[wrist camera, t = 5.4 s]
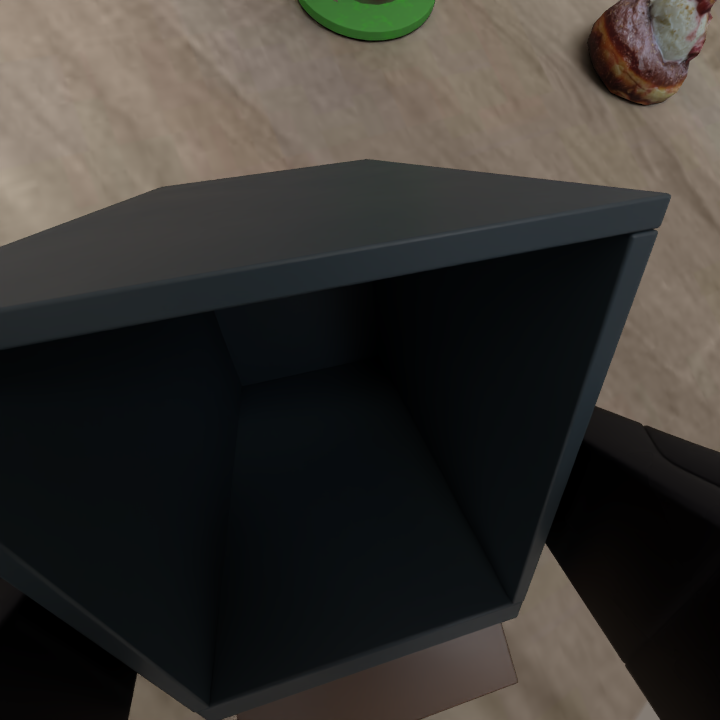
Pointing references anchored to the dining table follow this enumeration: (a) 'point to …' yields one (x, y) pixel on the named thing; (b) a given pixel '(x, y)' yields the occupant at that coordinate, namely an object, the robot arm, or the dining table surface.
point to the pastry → (648, 46)
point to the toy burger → (370, 16)
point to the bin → (303, 412)
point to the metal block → (405, 684)
